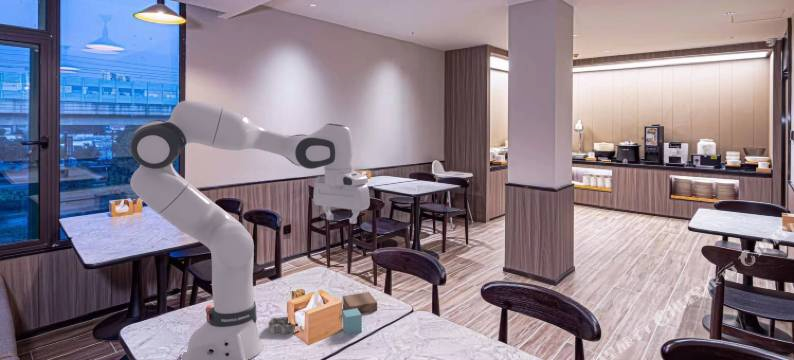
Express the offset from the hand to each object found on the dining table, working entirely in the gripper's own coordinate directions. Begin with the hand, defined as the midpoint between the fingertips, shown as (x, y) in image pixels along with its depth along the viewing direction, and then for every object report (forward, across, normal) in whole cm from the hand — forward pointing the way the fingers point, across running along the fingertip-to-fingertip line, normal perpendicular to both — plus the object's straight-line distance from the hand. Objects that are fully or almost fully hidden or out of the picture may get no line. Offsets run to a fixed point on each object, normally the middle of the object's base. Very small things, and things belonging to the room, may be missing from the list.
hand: (341, 221), depth 135 cm
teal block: (+36, +1, +2) cm, 36 cm away
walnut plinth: (+36, -8, +17) cm, 41 cm away
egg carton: (+37, -18, -9) cm, 42 cm away
